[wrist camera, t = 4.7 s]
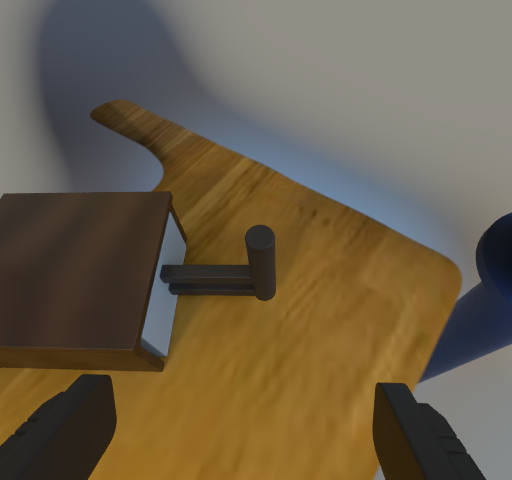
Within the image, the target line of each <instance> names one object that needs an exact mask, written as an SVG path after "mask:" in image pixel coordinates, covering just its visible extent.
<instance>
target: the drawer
mask: <svg viewBox="0 0 512 480" xmlns="http://www.w3.org/2000/svg"><path fill="white" fill-rule="evenodd" d="M245 242H246V248H247V254H248V260H249V265H183V264H184V258H185V252H186V244H185V242H184V240H183V238H182V236H181V234H180V231H179V229H178V227H177V225H176V223H175V221H174V219H173V217H172V214H171V212H169V216H168V220H167V225H166V229H165V234H164V238H163V243H162V247H161V251H160V256H159V260H158V265H157V269H156V274H155V278H154V283H153V287H152V291H151V296H150V300H149V305H148V309H147V314H146V318H145V323H144V327H143V331H142V336H141V340H140V345H141V346H142V347H143V348H145V349H146V350H148V351H149V352H150V353H152V354H153V355H155V356H159V357H167V354H168V348H169V343H170V337H171V332H172V326H173V320H174V315H175V309H176V303H177V298H178V295H232V296H256V298H258V299H259V300H262V301H267V300H270V299H272V298H273V297H274V295H275V293H276V275H275V235H274V232H273V231H272V229H270V228H269V227H267V226H265V225H256V226H253V227H251V228H250V229H249V230H248V231H247V233H246V235H245Z"/></svg>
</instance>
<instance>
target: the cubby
mask: <svg viewBox="0 0 512 480" xmlns="http://www.w3.org/2000/svg"><path fill="white" fill-rule="evenodd" d="M172 198H173V196H172V194H171V192H101V193H100V192H97V193H22V194H21V193H20V194H19V193H18V194H3V196H2V197H1V199H0V367H6V368H43V369H80V370H117V371H154V372H162V371H163V367H164V362H163V361H162V360H160V359H159V358H157V357H156V356H155V355H153V354H152V353H150V352H149V351H148V350H146V349H145V348H143V347H142V346H141V345H140V340H141V336H142V331H143V327H144V323H145V318H146V314H147V309H148V305H149V300H150V296H151V291H152V287H153V283H154V278H155V274H156V269H157V265H158V260H159V256H160V251H161V247H162V243H163V238H164V234H165V229H166V225H167V220H168V216H169V212H171V214H172V217H173V219H174V221H175V223H176V225H177V227H178V229H179V231H180V234H181V236H182V238H183V240H184V242H185V244H186V240H187V237H186V235H185V233H184V230H183V228H182V226H181V224H180V222H179V219H178V217H177V215H176V213H175V210H174V208H173V206H172V204H171V203H172Z"/></svg>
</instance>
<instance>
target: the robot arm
mask: <svg viewBox="0 0 512 480" xmlns="http://www.w3.org/2000/svg"><path fill="white" fill-rule="evenodd" d="M116 422H117V417H116V409H115V401H114V394H113V386H112V380H111V377H110V376H109V375H94V374H83V375H81V376H80V377H79V378H78V379H77V380H76V381H75V382H74V383H73V384H72V385H71V386H70V387H69V388H68V389H67V390H66V391H65V392H60V393H59V394H57V395H56V396H54V397H53V398H51V399H49V400H48V401H46V402H45V403H43V404H42V405H41V406H40V407H39V408H38V409H37V410H36V411H35V412H34V413H33V414H32V415H31V416H30V417H29V418H28V421H27V422H24V423H23V424H22V425H21V426H20V427H19V428H18V429H17V430H16V431H15V434H14V435H11V436H10V437H9V438H8V439H7V440H6V441H5V442H4V443H3V444H2V445H1V446H0V480H88V478H89V477H90V475H91V473H92V472H93V470H94V468H95V467H96V465H97V463H98V462H99V460H100V458H101V457H102V455H103V454H104V452H105V450H106V449H107V447H108V445H109V444H110V442H111V440H112V438H113V435H114V432H115V429H116ZM373 441H374V446H375V451H376V454H377V457H378V460H379V463H380V465H381V468H382V471H383V474H384V477H385V480H486V479H485V477H484V476H483V474H482V473H481V471H480V470H479V468H478V467H477V465H476V464H475V462H474V461H473V459H472V458H471V456H470V455H469V454H467V452H466V449H465V447H464V446H463V444H462V443H461V441H460V440H459V439H457V437H456V434H455V432H454V431H453V429H452V428H451V427H450V425H449V424H448V422H447V420H446V419H445V418H444V417H443V416H442V415H441V414H439V413H438V412H437V411H436V410H434V409H433V408H432V407H431V406H430V405H429V404H427V403H417V402H416V400H415V398H414V397H413V395H412V393H411V392H410V390H409V388H408V387H407V385H406V384H404V383H377V384H376V388H375V400H374V413H373Z"/></svg>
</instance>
